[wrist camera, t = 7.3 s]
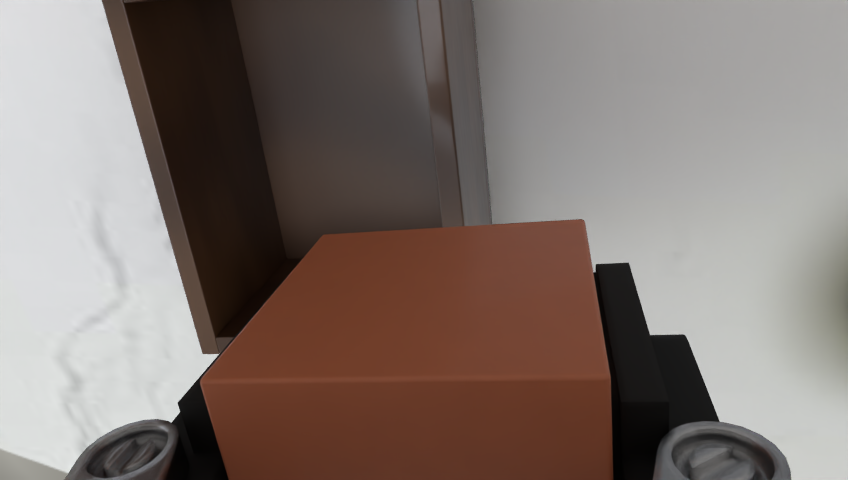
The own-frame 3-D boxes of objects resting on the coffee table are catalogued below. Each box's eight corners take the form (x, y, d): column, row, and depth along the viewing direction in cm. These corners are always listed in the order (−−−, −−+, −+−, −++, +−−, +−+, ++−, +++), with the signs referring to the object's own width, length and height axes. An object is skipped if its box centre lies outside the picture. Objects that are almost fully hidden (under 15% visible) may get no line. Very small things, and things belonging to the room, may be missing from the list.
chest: (495, 258, 32) (477, 352, 24) (281, 266, 35) (202, 354, 27) (467, -57, 27) (433, -69, 19) (218, -22, 30) (95, -19, 22)
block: (322, 233, 12) (196, 380, 7) (584, 217, 11) (610, 375, 6) (363, 440, 13) (279, 656, 9) (593, 442, 12) (619, 686, 8)
